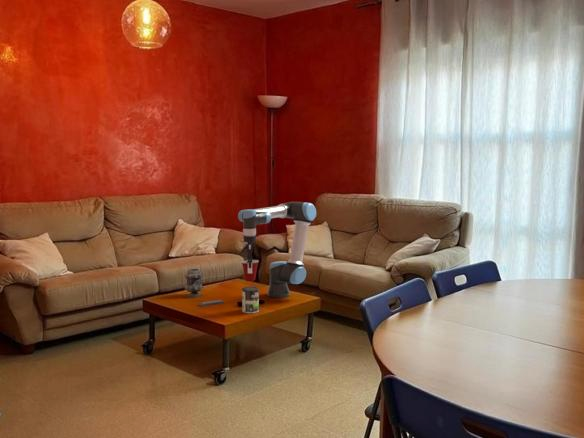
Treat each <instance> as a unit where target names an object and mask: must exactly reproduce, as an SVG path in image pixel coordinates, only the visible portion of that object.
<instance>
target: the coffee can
mask: <svg viewBox="0 0 584 438" xmlns="http://www.w3.org/2000/svg"><path fill="white" fill-rule="evenodd" d="M259 290H260V288H259V287H257V286H244V287H242V288H241V303H242V304H241V305H242V306H241V308H242V309H241V312H242V313H244V314H255V313H256V314H257V313H259V311H260V309H259V307H260V303H259V302H260V301H259V300H260V298H259V297H260V296H259V295H260V294H259V293H260V291H259Z"/></svg>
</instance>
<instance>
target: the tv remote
mask: <svg viewBox="0 0 584 438" xmlns="http://www.w3.org/2000/svg"><path fill="white" fill-rule="evenodd" d="M220 304H221V305H222V304H224V300H222V299H217V300H209V301H203V302H198V305H199V306H200V307H206V306H208V307H209V306H214V305H220Z"/></svg>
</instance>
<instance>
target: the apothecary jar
mask: <svg viewBox="0 0 584 438" xmlns="http://www.w3.org/2000/svg"><path fill="white" fill-rule="evenodd" d="M203 276H204V275H203V272H201V269H200V268H188V269H187V272H185V274H184V277H185V278H186V285H185V287H184V289H185V291H186V292H189V293H188V294H187V295H186V297H187V298H199V297H201V296H202V293H200V291H203V288H204V286H203V284H202V277H203Z"/></svg>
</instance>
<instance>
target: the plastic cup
mask: <svg viewBox="0 0 584 438" xmlns="http://www.w3.org/2000/svg"><path fill="white" fill-rule="evenodd" d="M247 261H248V259H246V260H242V261H240V262H241V265H242V268H243V274H244V278H245V282H254V281H256V277H257V270H258V265H259V260H258V259H252V273H248V263H247Z"/></svg>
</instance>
